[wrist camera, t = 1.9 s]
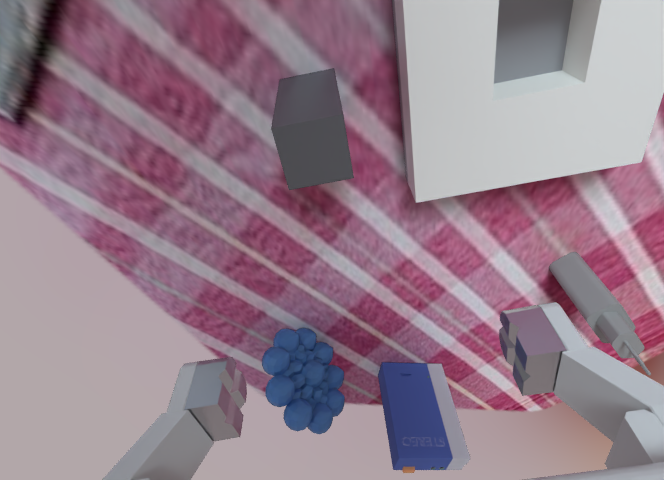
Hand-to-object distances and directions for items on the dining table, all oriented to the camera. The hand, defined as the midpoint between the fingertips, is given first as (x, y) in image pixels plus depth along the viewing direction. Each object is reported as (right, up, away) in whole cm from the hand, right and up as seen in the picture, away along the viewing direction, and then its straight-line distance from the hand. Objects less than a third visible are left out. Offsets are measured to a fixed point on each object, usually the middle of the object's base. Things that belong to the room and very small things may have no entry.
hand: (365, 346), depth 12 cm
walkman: (+9, -13, +40) cm, 43 cm away
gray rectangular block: (-2, +14, +18) cm, 23 cm away
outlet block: (+12, +18, +16) cm, 27 cm away
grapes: (-5, -8, +35) cm, 36 cm away
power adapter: (+24, 0, +31) cm, 39 cm away
